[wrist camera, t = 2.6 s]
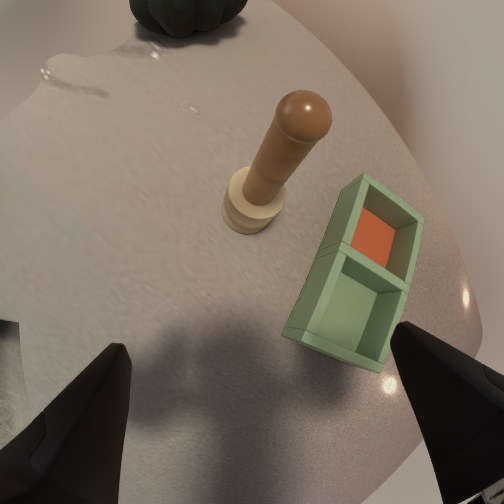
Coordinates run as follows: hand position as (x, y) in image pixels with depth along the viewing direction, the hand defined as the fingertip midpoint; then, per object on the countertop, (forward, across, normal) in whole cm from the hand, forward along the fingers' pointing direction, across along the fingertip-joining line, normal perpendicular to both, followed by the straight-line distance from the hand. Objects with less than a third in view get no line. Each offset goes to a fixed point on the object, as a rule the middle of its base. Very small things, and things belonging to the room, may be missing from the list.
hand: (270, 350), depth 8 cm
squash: (+32, +6, -22) cm, 39 cm away
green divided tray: (+13, -10, +6) cm, 17 cm away
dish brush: (+16, -1, +1) cm, 16 cm away
